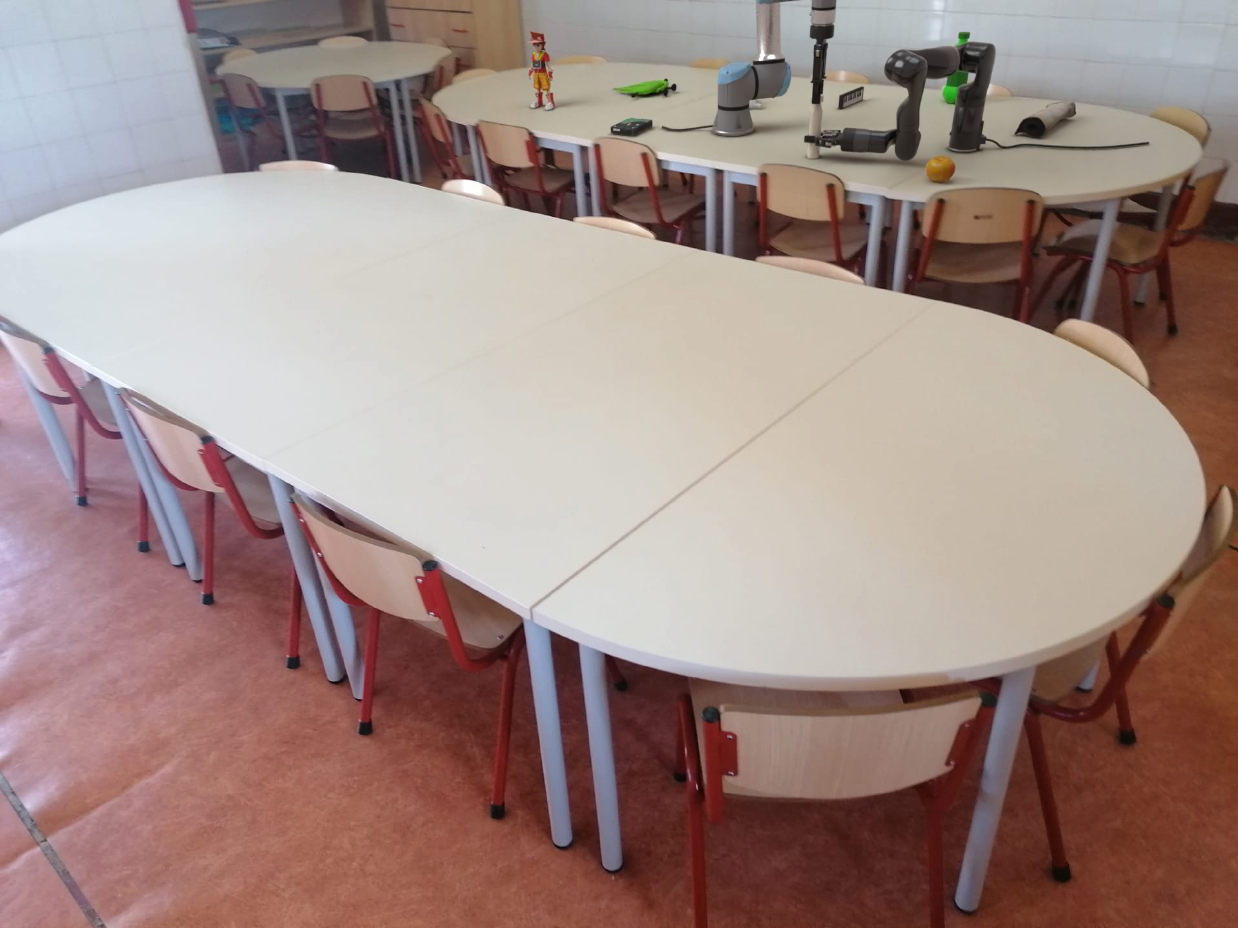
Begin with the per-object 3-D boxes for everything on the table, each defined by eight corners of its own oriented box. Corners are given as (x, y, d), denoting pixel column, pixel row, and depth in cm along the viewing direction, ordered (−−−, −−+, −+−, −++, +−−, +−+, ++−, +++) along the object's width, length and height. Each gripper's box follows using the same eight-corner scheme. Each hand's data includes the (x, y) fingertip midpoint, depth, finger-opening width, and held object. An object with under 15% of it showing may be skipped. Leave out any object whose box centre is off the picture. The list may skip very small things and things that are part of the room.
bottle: (807, 155, 307) (811, 95, 296) (819, 155, 306) (824, 95, 295) (806, 158, 304) (810, 98, 293) (818, 158, 303) (823, 98, 292)
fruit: (919, 172, 274) (936, 148, 271) (921, 174, 282) (937, 151, 279) (942, 187, 273) (960, 164, 270) (943, 189, 281) (960, 166, 278)
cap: (811, 100, 297) (811, 93, 296) (823, 100, 296) (824, 93, 295) (810, 103, 294) (810, 96, 293) (822, 103, 293) (823, 96, 292)
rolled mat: (1043, 106, 330) (1068, 89, 322) (1057, 127, 331) (1082, 110, 323) (1010, 128, 313) (1035, 111, 305) (1024, 150, 313) (1050, 133, 305)
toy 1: (525, 109, 381) (517, 32, 364) (534, 104, 388) (527, 28, 371) (550, 110, 377) (543, 32, 360) (559, 105, 384) (553, 28, 367)
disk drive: (633, 137, 337) (653, 126, 347) (633, 129, 336) (652, 119, 346) (610, 134, 342) (630, 124, 352) (609, 127, 340) (630, 117, 350)
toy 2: (686, 85, 398) (631, 84, 414) (685, 72, 395) (629, 72, 411) (651, 104, 381) (596, 103, 397) (650, 92, 378) (594, 91, 394)
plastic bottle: (973, 101, 354) (984, 32, 339) (955, 106, 349) (966, 36, 335) (952, 97, 361) (962, 29, 346) (934, 102, 356) (944, 33, 342)
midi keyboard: (840, 109, 355) (842, 95, 352) (838, 108, 355) (839, 95, 353) (863, 99, 365) (864, 86, 362) (860, 99, 366) (861, 86, 363)
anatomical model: (728, 80, 368) (752, 74, 367) (733, 106, 374) (756, 99, 373) (735, 89, 356) (760, 82, 355) (739, 115, 362) (764, 108, 361)
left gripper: (814, 19, 289) (809, 96, 303) (805, 29, 276) (801, 108, 290) (838, 19, 287) (832, 96, 300) (830, 29, 274) (824, 109, 288)
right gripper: (863, 123, 299) (812, 120, 306) (853, 134, 289) (801, 131, 295) (860, 146, 304) (811, 142, 310) (850, 158, 293) (799, 154, 300)
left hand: (817, 102), depth 295 cm, fingers closed on cap, 4 cm apart
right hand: (806, 137), depth 303 cm, fingers closed on bottle, 4 cm apart
